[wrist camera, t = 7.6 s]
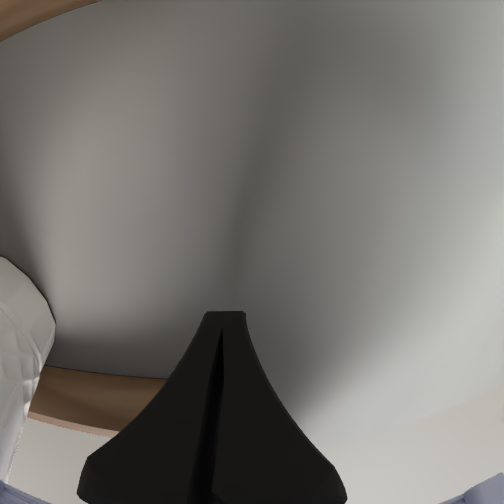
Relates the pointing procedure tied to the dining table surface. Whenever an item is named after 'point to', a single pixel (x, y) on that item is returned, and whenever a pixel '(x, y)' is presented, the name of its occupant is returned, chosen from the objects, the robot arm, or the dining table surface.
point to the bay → (64, 380)
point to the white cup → (19, 354)
